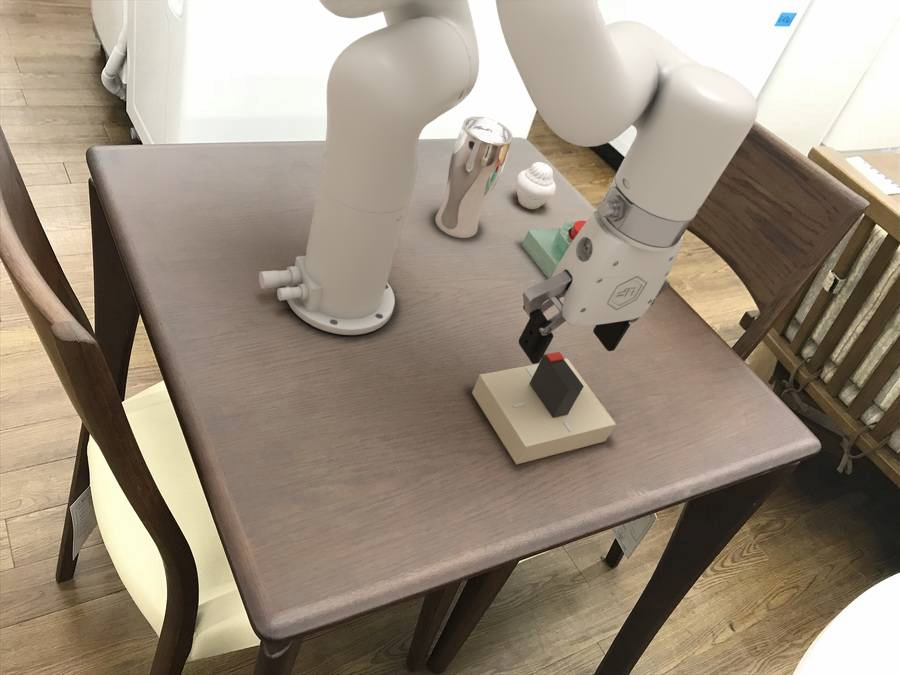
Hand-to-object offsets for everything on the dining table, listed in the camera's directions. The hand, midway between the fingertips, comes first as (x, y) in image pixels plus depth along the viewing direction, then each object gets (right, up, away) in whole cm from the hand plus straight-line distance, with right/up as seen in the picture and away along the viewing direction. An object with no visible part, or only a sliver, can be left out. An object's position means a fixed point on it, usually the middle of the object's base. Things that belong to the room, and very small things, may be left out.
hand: (566, 347), depth 77 cm
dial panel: (-2, -8, +7) cm, 10 cm away
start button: (+7, +14, +28) cm, 32 cm away
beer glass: (-11, +16, +30) cm, 36 cm away
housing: (+6, +12, +31) cm, 33 cm away
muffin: (0, +21, +39) cm, 45 cm away
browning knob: (-1, -6, +5) cm, 7 cm away
